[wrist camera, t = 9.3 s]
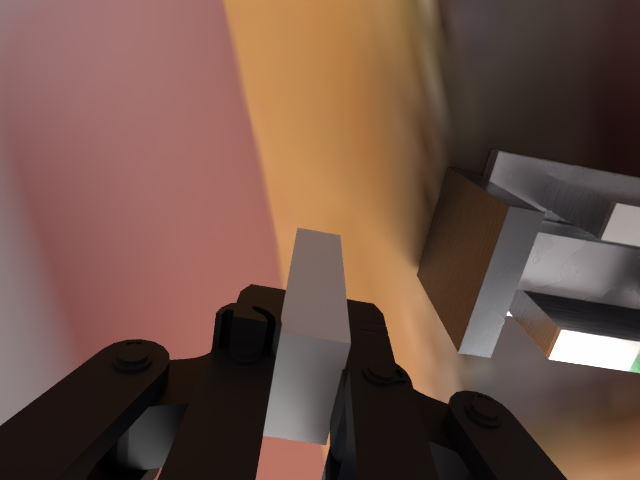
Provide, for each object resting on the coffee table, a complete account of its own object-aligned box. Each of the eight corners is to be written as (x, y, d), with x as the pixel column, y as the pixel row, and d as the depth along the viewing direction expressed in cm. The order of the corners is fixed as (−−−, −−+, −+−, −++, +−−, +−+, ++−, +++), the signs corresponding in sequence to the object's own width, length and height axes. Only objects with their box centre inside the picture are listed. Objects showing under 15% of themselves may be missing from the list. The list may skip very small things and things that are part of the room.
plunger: (455, 140, 23) (522, 169, 15) (725, 192, 24) (902, 240, 17) (410, 296, 26) (448, 380, 19) (651, 334, 27) (773, 427, 20)
